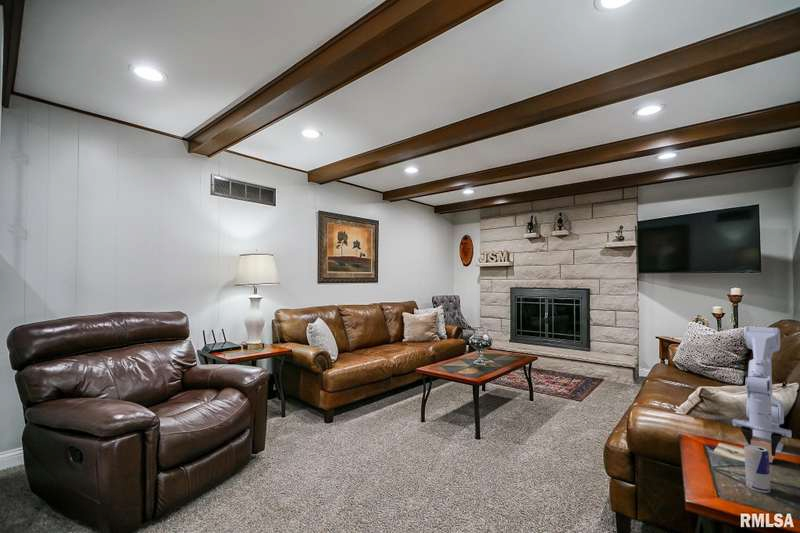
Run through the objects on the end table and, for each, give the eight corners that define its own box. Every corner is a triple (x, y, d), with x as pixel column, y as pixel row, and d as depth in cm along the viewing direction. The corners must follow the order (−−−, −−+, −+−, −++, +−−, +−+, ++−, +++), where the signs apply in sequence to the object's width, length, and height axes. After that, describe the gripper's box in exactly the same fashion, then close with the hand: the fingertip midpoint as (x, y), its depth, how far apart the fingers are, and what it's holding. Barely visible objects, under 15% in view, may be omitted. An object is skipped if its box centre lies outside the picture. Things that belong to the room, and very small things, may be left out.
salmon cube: (753, 453, 133) (752, 435, 134) (773, 458, 130) (772, 440, 130) (751, 457, 130) (750, 439, 130) (771, 462, 126) (770, 444, 127)
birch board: (719, 443, 144) (719, 442, 144) (751, 451, 137) (751, 450, 137) (712, 454, 135) (711, 452, 135) (745, 462, 128) (745, 461, 128)
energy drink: (775, 494, 110) (773, 452, 110) (754, 492, 111) (752, 450, 111) (762, 484, 115) (760, 444, 115) (741, 483, 116) (739, 443, 116)
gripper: (730, 409, 133) (732, 448, 133) (789, 420, 122) (791, 463, 122) (734, 405, 138) (735, 443, 137) (791, 415, 127) (793, 456, 126)
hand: (762, 452), depth 130 cm, fingers closed on salmon cube, 5 cm apart
